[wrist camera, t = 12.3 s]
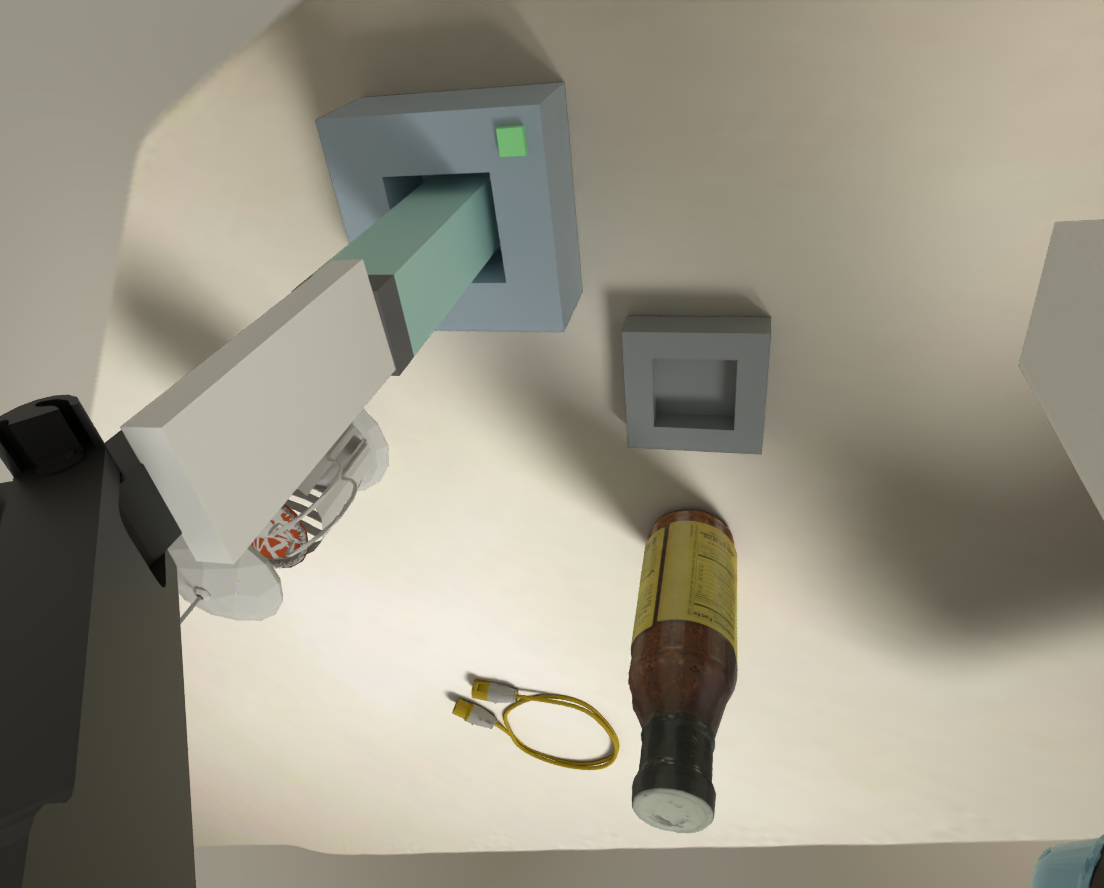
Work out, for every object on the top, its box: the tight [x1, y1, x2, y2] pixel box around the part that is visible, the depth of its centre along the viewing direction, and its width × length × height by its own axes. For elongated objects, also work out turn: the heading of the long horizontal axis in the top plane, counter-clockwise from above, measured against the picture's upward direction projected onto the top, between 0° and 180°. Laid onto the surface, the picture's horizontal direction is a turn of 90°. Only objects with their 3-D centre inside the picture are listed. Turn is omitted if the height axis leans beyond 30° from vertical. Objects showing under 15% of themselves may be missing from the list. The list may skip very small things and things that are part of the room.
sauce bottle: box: [628, 510, 737, 833], centre depth 43 cm, size 7×6×20 cm
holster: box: [622, 316, 771, 454], centre depth 42 cm, size 8×8×2 cm
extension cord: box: [452, 680, 619, 770], centre depth 68 cm, size 12×16×2 cm
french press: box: [168, 409, 389, 624], centre depth 43 cm, size 10×12×25 cm
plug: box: [291, 172, 500, 376], centre depth 33 cm, size 4×4×16 cm
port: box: [315, 82, 583, 332], centre depth 38 cm, size 11×11×5 cm
